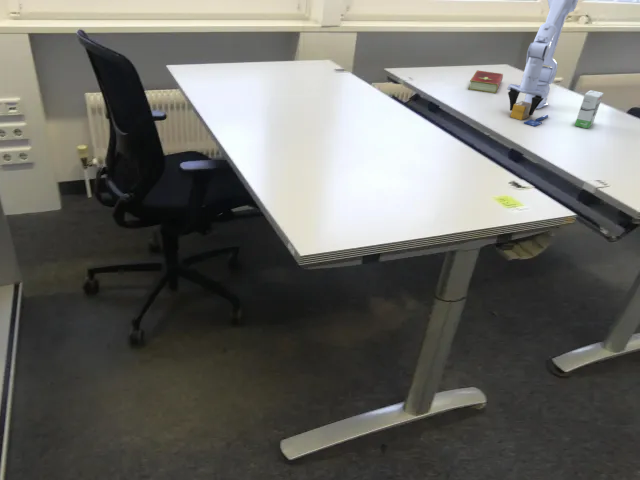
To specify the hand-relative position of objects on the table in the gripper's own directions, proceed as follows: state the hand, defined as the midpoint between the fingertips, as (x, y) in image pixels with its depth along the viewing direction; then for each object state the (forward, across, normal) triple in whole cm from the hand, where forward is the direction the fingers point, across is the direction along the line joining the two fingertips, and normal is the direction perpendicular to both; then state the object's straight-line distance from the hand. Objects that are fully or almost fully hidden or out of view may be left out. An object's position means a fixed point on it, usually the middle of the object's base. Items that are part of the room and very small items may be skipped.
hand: (521, 112), depth 213 cm
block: (+2, 0, 0) cm, 2 cm away
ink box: (+2, +20, +11) cm, 23 cm away
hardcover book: (+2, -32, +30) cm, 44 cm away
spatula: (+2, +7, 0) cm, 7 cm away
